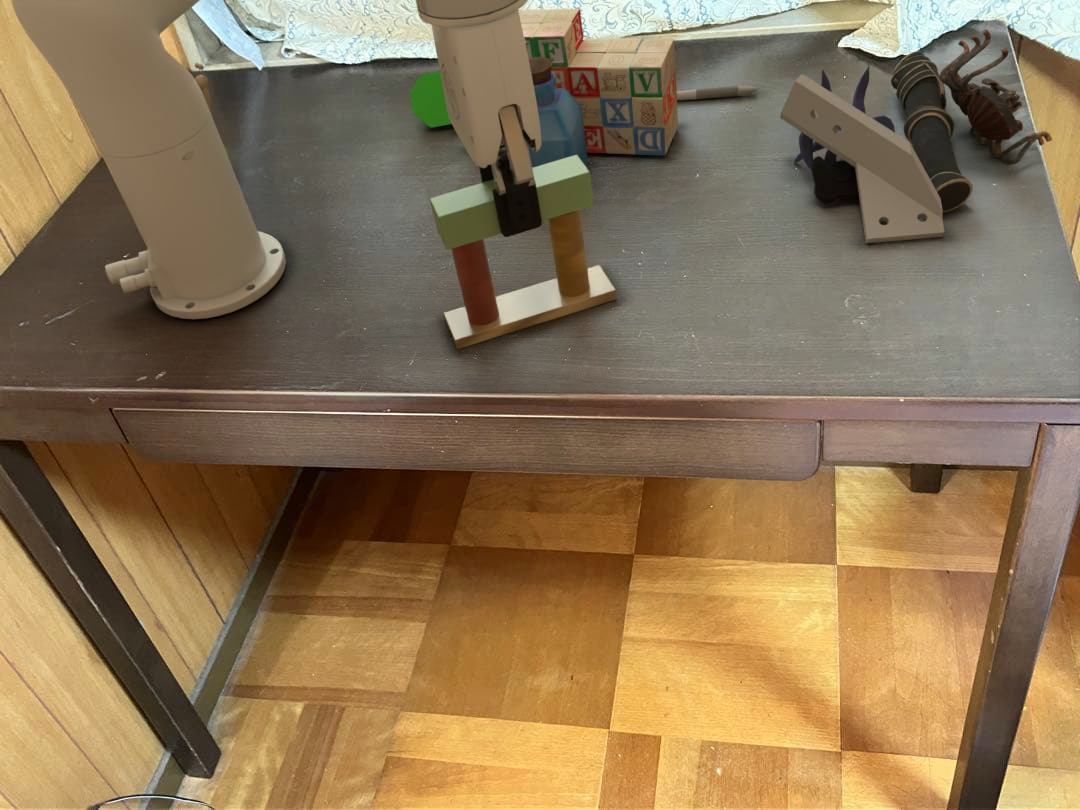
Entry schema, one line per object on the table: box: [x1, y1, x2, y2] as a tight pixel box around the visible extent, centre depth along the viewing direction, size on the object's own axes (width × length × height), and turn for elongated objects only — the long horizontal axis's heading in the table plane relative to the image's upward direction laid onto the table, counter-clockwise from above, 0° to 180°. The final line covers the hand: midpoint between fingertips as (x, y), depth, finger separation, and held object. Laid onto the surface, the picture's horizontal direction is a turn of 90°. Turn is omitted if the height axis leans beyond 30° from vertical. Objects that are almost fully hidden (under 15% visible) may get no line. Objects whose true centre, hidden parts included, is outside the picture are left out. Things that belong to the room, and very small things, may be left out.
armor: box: [890, 50, 973, 213], centre depth 93 cm, size 4×5×25 cm
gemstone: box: [409, 70, 452, 128], centre depth 111 cm, size 6×6×6 cm
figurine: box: [793, 64, 896, 205], centre depth 92 cm, size 10×12×8 cm
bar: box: [429, 155, 595, 251], centre depth 77 cm, size 12×3×3 cm, turn 108°
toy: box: [939, 29, 1053, 166], centre depth 90 cm, size 12×12×5 cm
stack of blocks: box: [518, 8, 679, 156], centre depth 100 cm, size 21×6×12 cm, turn 72°
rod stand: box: [443, 209, 618, 350], centre depth 82 cm, size 14×4×9 cm, turn 108°
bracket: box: [780, 73, 945, 244], centre depth 86 cm, size 12×4×15 cm
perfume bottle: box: [528, 57, 589, 168], centre depth 95 cm, size 6×6×12 cm
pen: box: [676, 85, 759, 101], centre depth 106 cm, size 1×14×1 cm
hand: (514, 216), depth 78 cm, fingers closed on bar, 3 cm apart
